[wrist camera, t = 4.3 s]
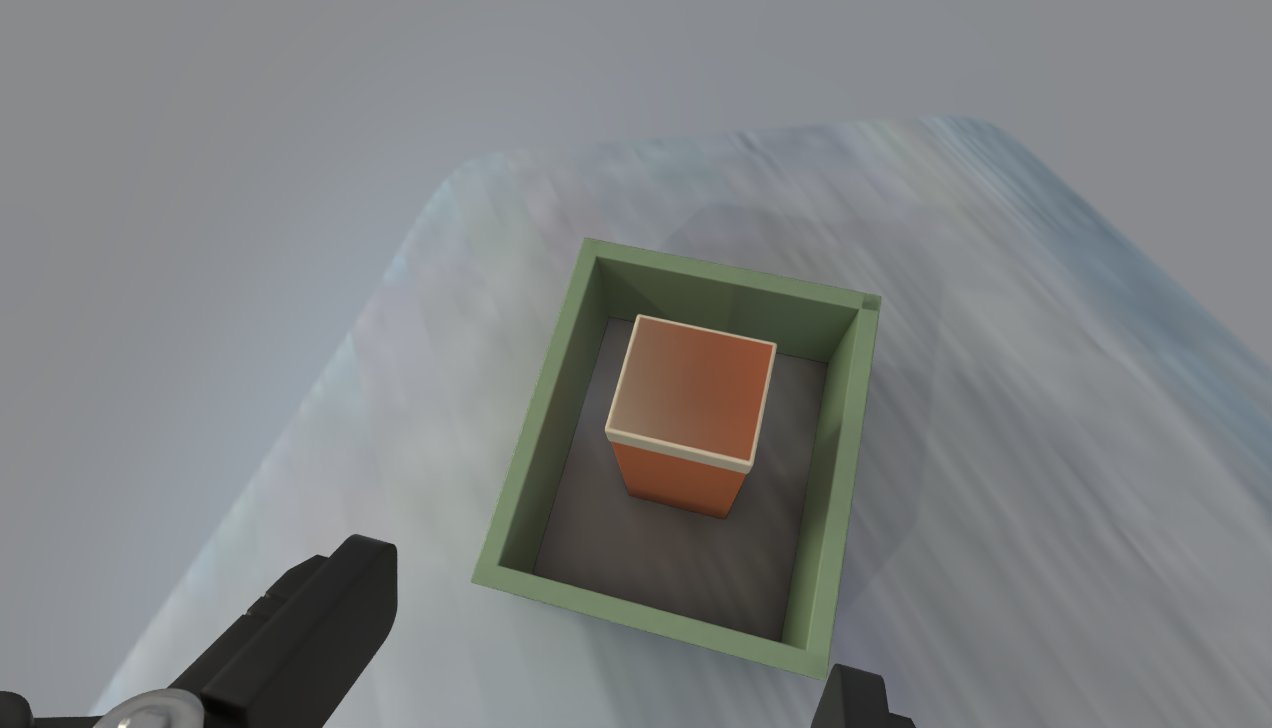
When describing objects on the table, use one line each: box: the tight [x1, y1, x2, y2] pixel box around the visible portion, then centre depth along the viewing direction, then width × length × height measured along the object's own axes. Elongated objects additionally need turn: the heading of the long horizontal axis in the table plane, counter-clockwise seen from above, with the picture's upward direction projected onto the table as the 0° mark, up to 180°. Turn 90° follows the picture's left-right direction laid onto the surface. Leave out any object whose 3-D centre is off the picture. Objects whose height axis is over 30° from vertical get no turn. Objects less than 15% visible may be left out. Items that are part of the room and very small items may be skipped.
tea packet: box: [605, 314, 777, 519], centre depth 26 cm, size 5×4×11 cm
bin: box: [471, 238, 881, 681], centre depth 28 cm, size 13×15×6 cm
